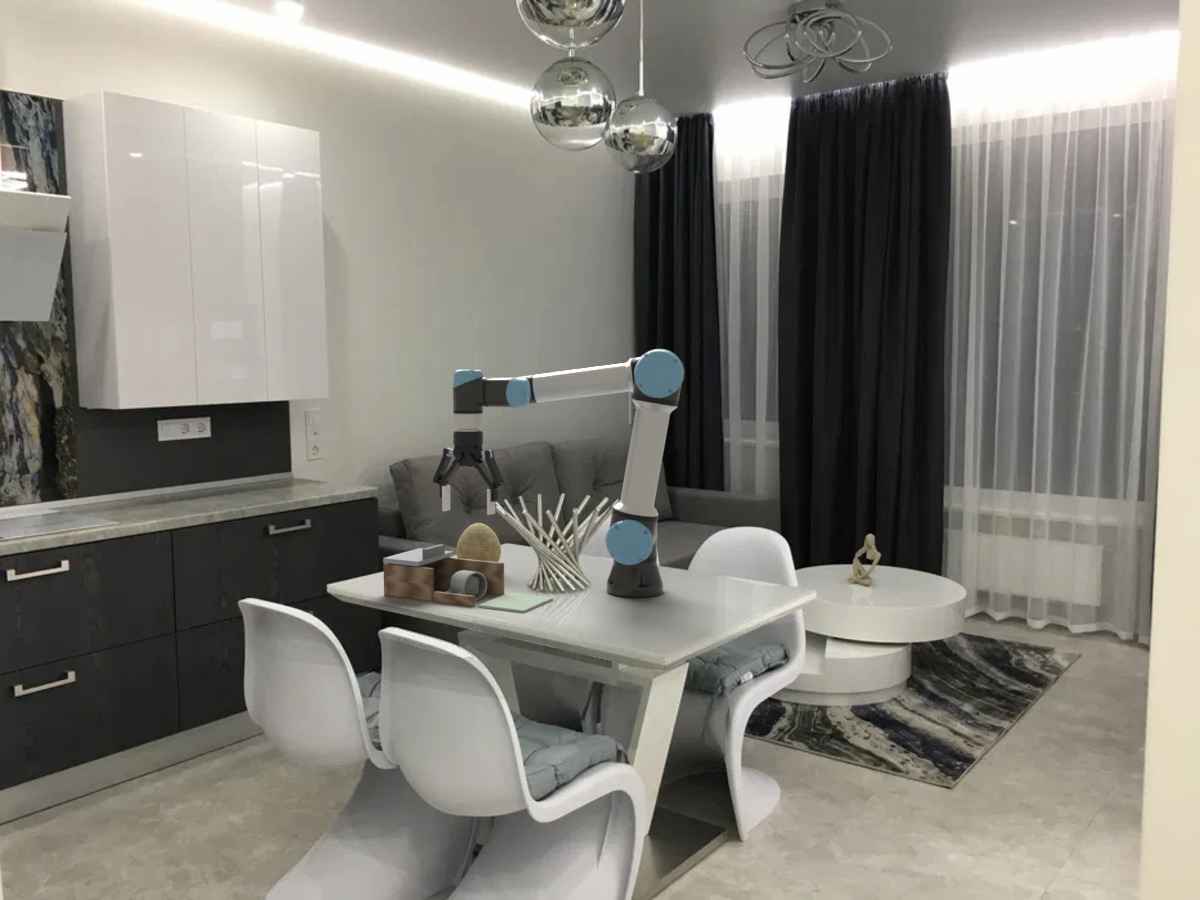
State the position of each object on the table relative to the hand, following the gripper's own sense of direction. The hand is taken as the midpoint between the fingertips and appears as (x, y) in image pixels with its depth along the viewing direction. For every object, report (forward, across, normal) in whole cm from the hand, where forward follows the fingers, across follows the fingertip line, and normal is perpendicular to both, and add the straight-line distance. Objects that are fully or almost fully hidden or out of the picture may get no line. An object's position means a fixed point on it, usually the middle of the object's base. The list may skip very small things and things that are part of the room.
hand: (468, 512), depth 257 cm
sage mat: (+22, -14, 0) cm, 26 cm away
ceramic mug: (+23, 0, +1) cm, 23 cm away
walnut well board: (+22, +8, 0) cm, 24 cm away
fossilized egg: (+23, +13, -26) cm, 37 cm away
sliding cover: (+14, +16, 0) cm, 21 cm away
